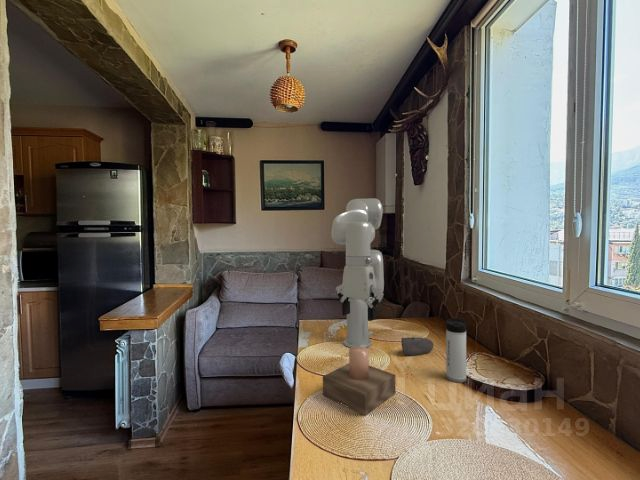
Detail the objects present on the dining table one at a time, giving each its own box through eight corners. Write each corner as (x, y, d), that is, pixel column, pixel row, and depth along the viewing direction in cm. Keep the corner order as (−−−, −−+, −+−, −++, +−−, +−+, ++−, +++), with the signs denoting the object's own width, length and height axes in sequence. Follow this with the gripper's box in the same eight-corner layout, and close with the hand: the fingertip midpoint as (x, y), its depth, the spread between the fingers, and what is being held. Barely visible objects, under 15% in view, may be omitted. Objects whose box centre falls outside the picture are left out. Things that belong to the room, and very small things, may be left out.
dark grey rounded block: (430, 350, 132) (430, 334, 132) (437, 354, 127) (437, 338, 127) (397, 353, 130) (397, 336, 129) (402, 358, 124) (402, 340, 124)
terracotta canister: (356, 369, 101) (356, 344, 100) (372, 374, 97) (372, 349, 96) (345, 375, 96) (345, 350, 96) (361, 381, 92) (361, 355, 92)
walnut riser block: (354, 377, 108) (354, 360, 108) (395, 393, 97) (395, 374, 97) (322, 395, 96) (322, 376, 96) (365, 415, 85) (365, 394, 85)
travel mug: (465, 375, 109) (464, 318, 108) (467, 384, 102) (467, 323, 102) (445, 372, 111) (445, 317, 110) (446, 381, 104) (446, 322, 104)
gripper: (389, 262, 92) (389, 319, 93) (344, 259, 104) (344, 310, 105) (374, 264, 87) (375, 325, 87) (329, 261, 99) (329, 314, 99)
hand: (358, 317), depth 96 cm, fingers open, 9 cm apart
